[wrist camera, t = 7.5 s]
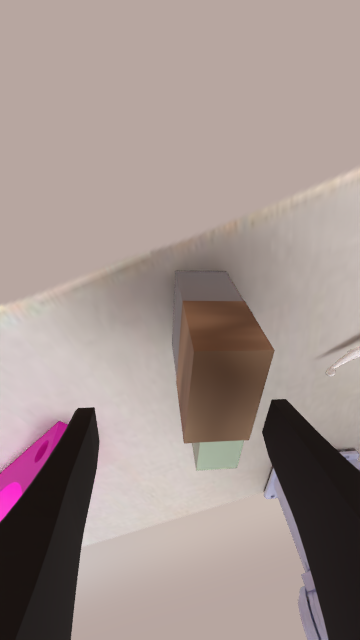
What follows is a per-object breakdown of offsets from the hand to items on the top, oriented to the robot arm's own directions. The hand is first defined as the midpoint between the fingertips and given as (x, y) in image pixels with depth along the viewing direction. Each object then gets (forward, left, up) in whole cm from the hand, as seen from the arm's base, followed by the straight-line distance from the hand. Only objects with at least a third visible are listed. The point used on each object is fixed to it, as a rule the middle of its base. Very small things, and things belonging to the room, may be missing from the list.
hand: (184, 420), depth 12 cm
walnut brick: (-2, +1, -6) cm, 7 cm away
